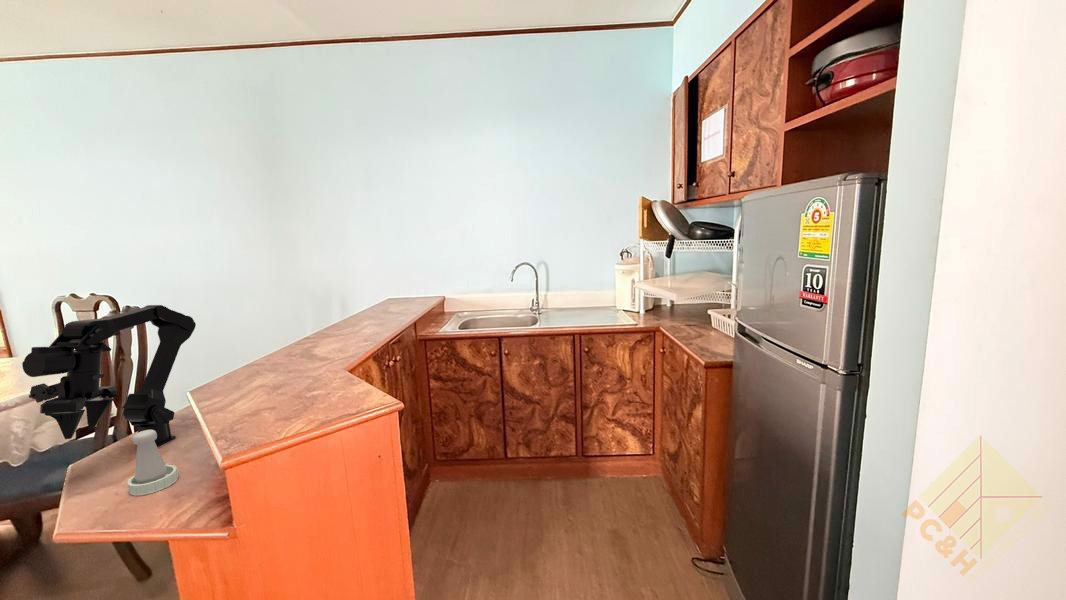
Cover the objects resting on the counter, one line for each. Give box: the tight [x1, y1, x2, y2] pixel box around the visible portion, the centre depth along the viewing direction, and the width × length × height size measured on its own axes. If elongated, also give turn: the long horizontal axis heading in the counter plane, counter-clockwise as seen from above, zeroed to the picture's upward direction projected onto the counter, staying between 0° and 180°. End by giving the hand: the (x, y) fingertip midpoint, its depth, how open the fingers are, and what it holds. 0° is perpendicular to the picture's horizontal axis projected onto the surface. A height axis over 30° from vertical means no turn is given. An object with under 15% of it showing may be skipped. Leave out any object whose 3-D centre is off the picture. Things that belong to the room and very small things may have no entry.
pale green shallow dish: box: [126, 464, 179, 497], centre depth 101 cm, size 9×9×2 cm
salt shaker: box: [132, 430, 167, 484], centre depth 101 cm, size 6×6×13 cm
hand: (80, 433), depth 105 cm, fingers open, 9 cm apart
